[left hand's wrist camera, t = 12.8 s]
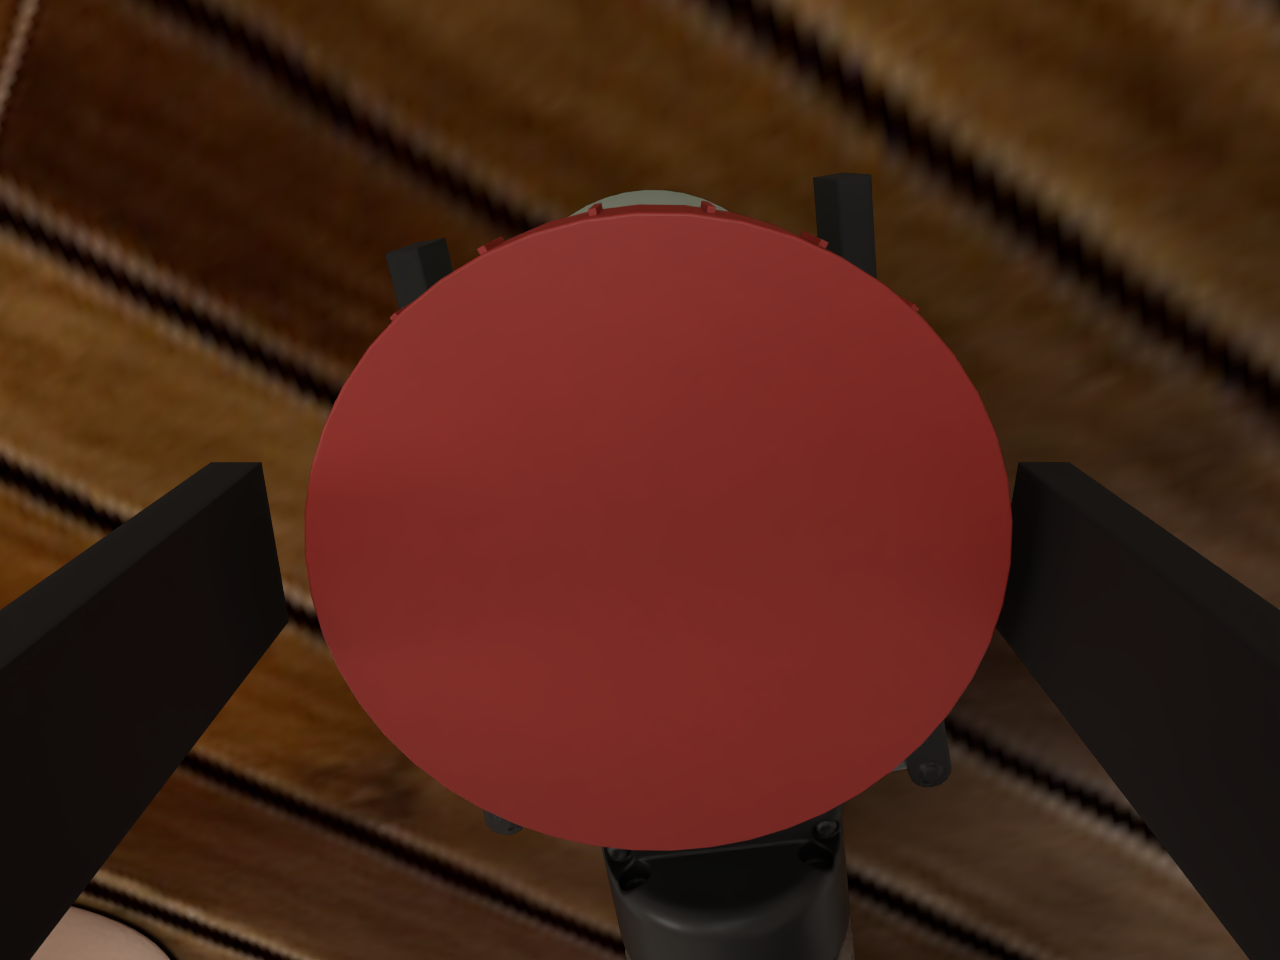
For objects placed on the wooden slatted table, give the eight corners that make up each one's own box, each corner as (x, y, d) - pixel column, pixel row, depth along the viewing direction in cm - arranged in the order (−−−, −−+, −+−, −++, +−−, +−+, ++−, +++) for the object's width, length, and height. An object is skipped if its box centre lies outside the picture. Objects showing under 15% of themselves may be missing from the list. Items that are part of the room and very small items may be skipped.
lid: (630, 33, 11) (625, 7, 9) (1098, 502, 13) (1169, 556, 12) (227, 542, 14) (163, 600, 12) (674, 858, 16) (678, 947, 14)
